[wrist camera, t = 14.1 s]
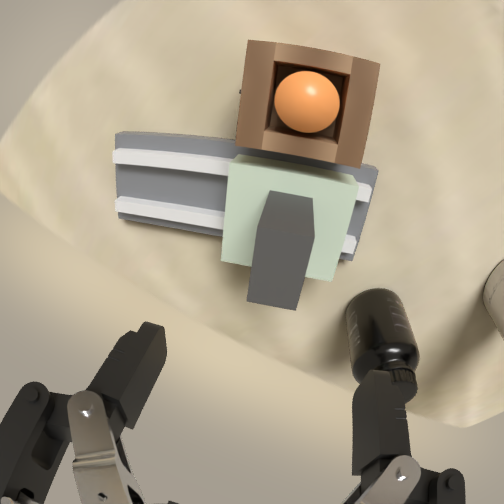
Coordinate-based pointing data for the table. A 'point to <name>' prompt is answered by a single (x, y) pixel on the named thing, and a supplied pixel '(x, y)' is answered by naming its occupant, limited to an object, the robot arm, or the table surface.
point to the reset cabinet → (292, 141)
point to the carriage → (285, 225)
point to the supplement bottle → (382, 339)
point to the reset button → (307, 101)
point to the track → (203, 181)
